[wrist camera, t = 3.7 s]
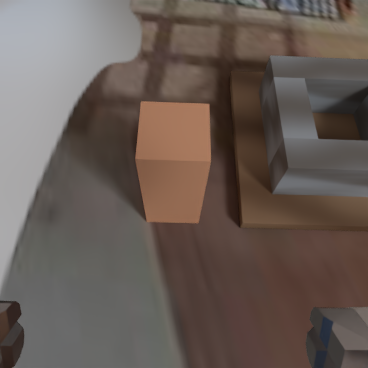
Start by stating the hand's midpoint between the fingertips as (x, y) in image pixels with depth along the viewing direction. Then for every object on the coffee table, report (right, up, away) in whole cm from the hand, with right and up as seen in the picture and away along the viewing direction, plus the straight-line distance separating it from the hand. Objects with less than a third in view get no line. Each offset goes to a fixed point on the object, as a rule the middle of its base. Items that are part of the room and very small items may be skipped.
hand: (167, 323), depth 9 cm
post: (0, +3, +17) cm, 17 cm away
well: (+13, +7, +20) cm, 25 cm away
